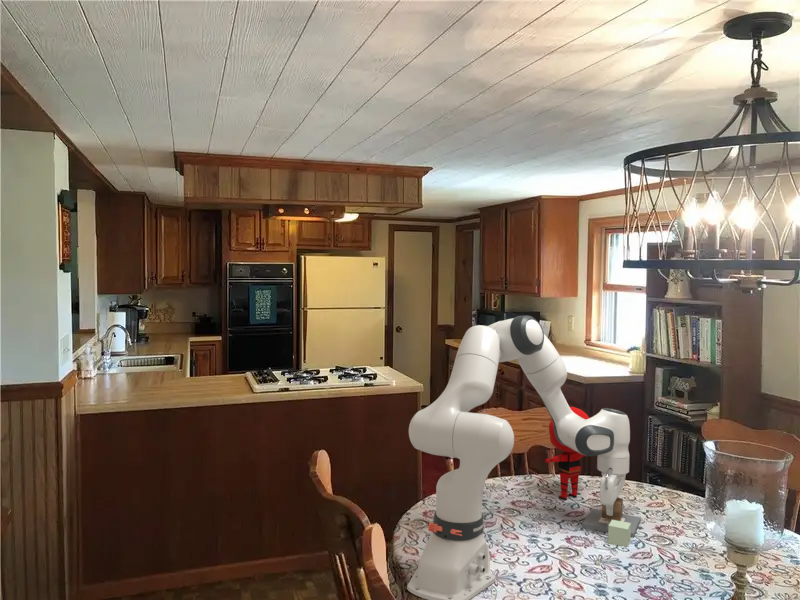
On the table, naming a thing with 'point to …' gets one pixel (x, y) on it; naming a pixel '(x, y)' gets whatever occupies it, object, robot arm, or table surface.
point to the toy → (567, 461)
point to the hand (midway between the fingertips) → (611, 511)
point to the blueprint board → (608, 521)
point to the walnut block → (617, 510)
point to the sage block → (619, 533)
